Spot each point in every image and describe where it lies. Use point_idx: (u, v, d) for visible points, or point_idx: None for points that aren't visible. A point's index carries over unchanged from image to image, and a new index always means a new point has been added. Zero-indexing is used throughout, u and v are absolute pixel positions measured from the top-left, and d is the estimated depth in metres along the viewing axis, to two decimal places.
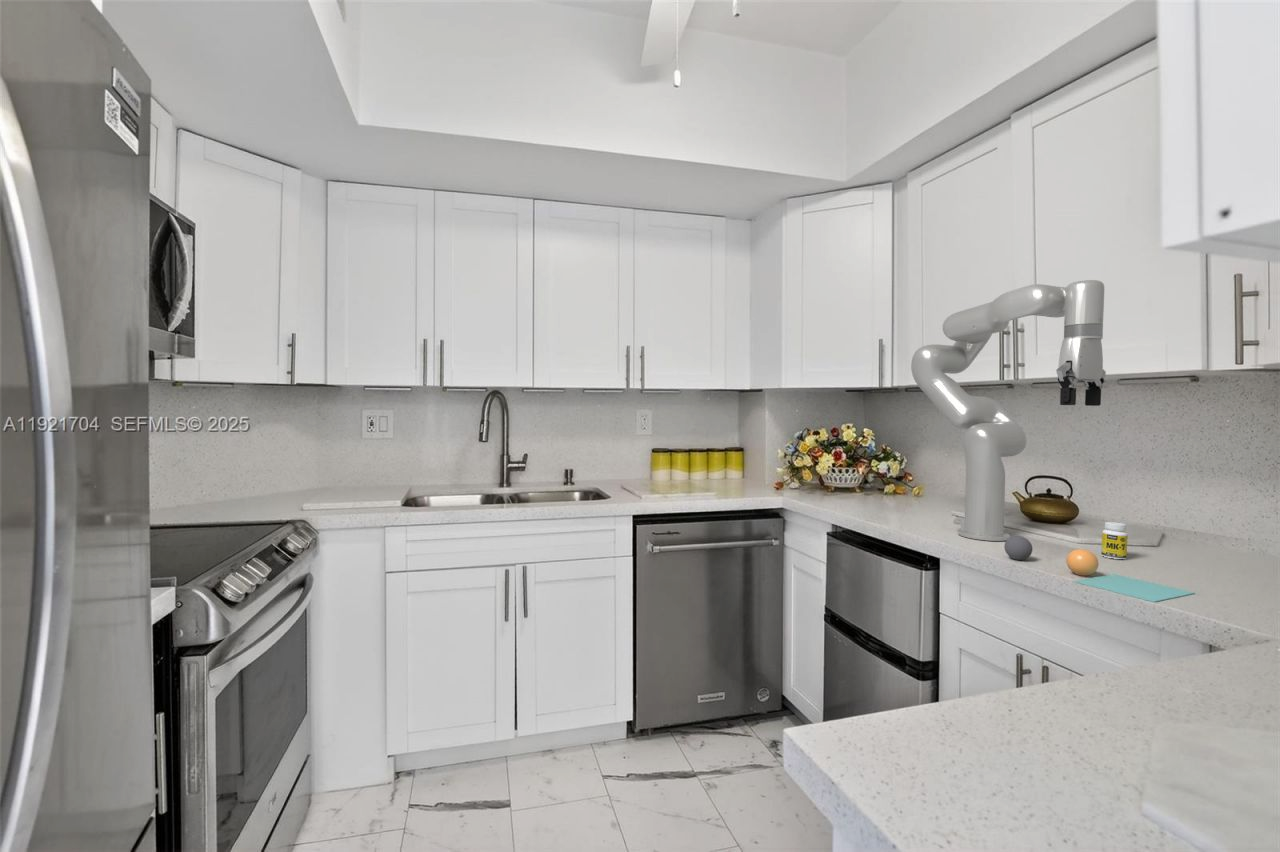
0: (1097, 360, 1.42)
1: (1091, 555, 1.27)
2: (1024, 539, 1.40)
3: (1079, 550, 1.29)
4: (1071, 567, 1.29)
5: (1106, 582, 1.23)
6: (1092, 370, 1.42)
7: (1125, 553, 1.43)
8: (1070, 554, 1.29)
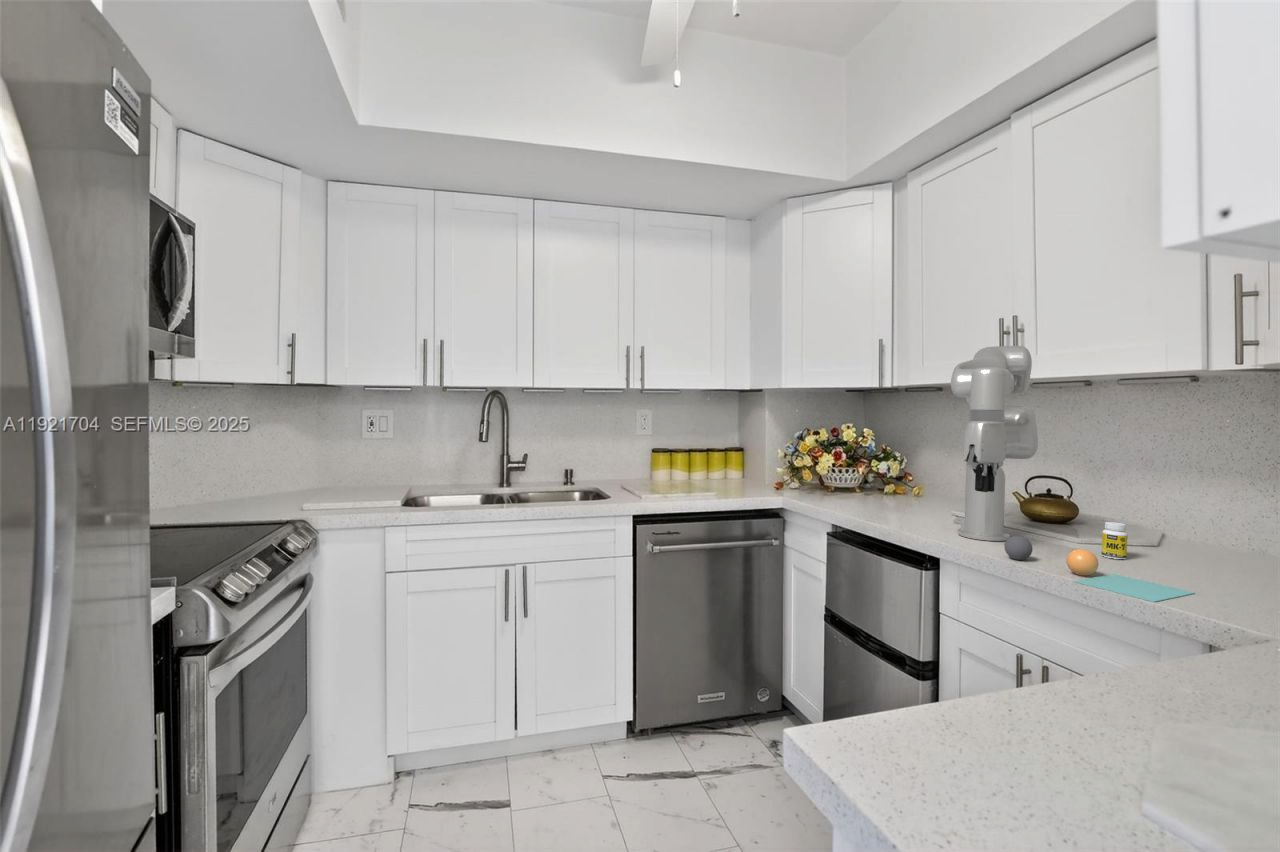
0: (999, 443, 1.48)
1: (1091, 555, 1.27)
2: (1024, 539, 1.40)
3: (1079, 550, 1.29)
4: (1071, 567, 1.29)
5: (1106, 582, 1.23)
6: (994, 453, 1.47)
7: (1125, 553, 1.43)
8: (1070, 554, 1.29)
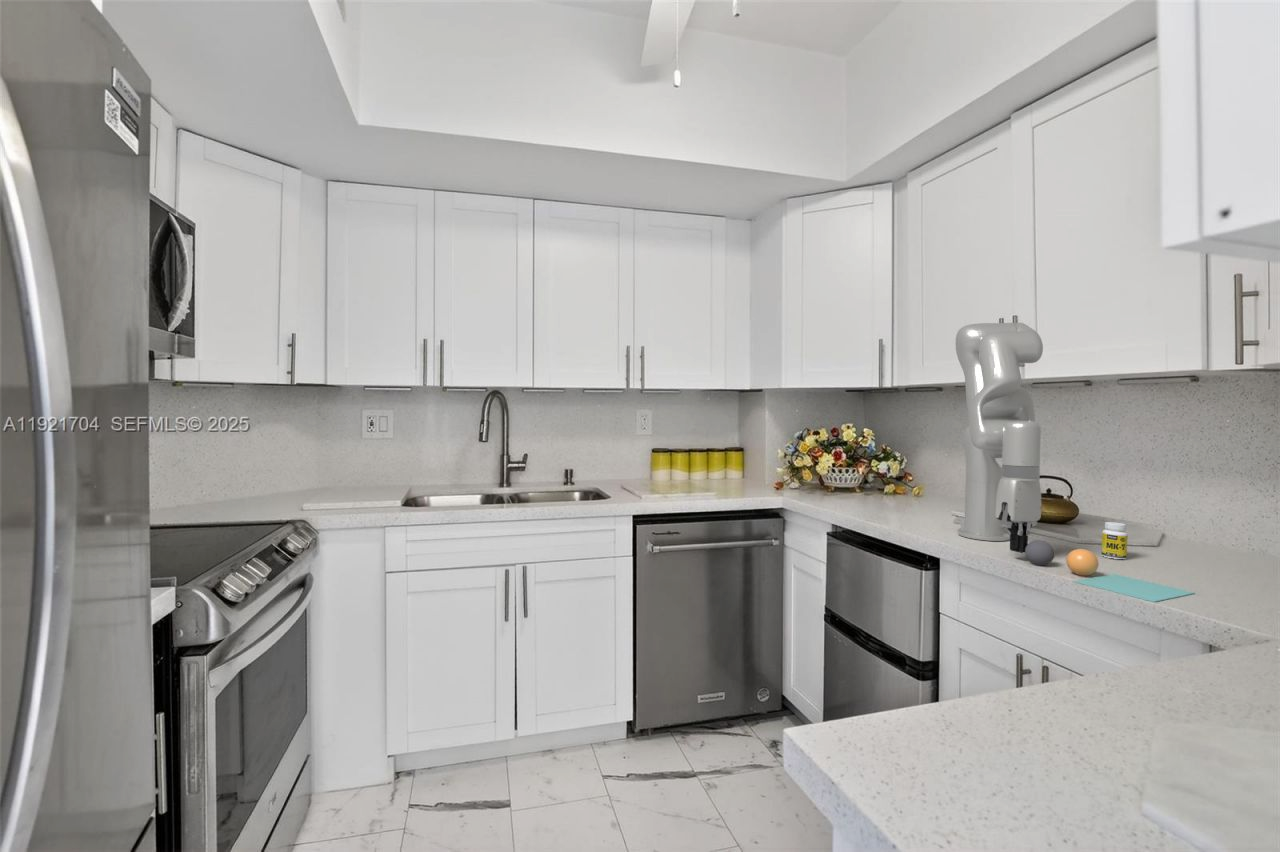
0: (1034, 502, 1.39)
1: (1091, 555, 1.27)
2: (1049, 561, 1.35)
3: (1079, 550, 1.29)
4: (1071, 567, 1.29)
5: (1106, 582, 1.23)
6: (1029, 512, 1.39)
7: (1125, 553, 1.43)
8: (1070, 554, 1.29)
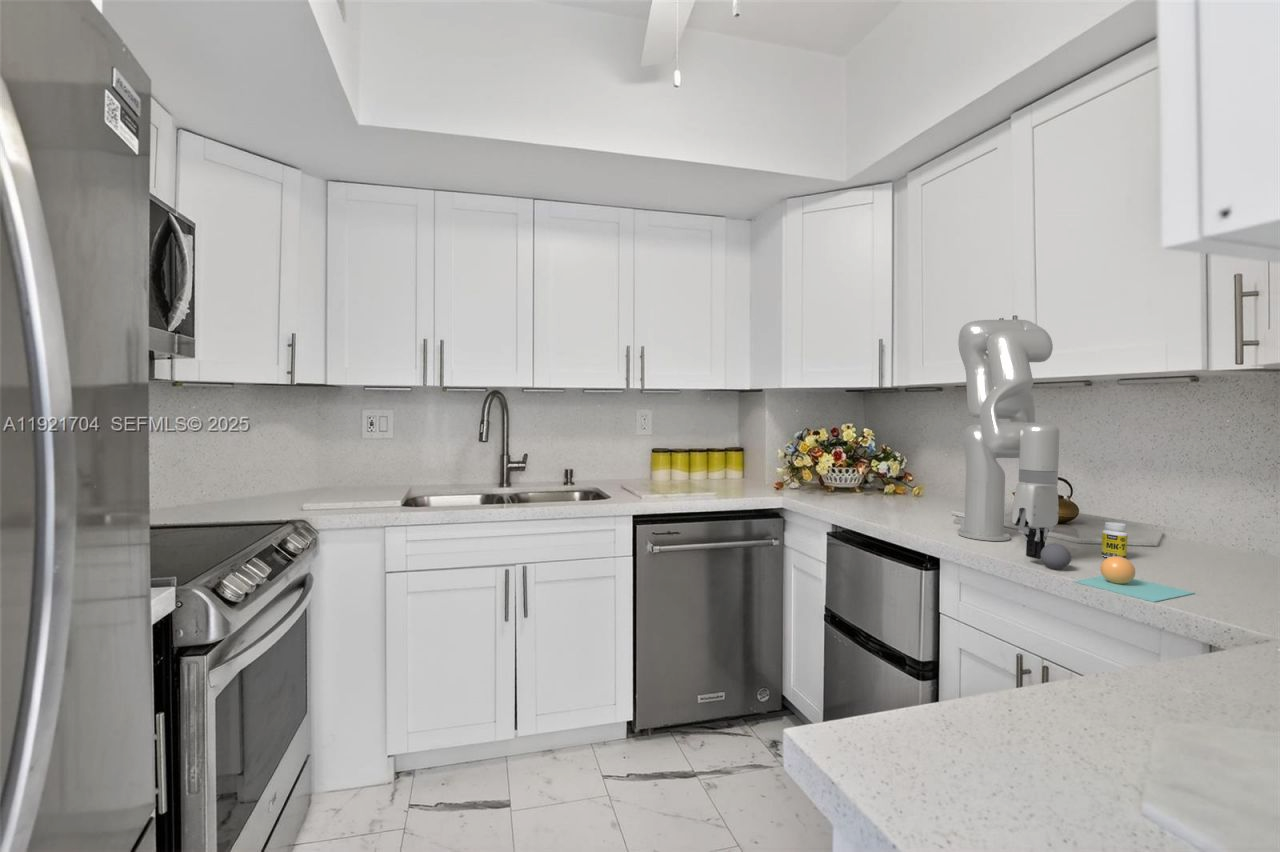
0: (1052, 507, 1.36)
1: (1115, 583, 1.23)
2: None
3: (1125, 581, 1.21)
4: (1109, 565, 1.22)
5: (1106, 582, 1.23)
6: (1047, 517, 1.36)
7: (1125, 553, 1.43)
8: (1123, 574, 1.20)
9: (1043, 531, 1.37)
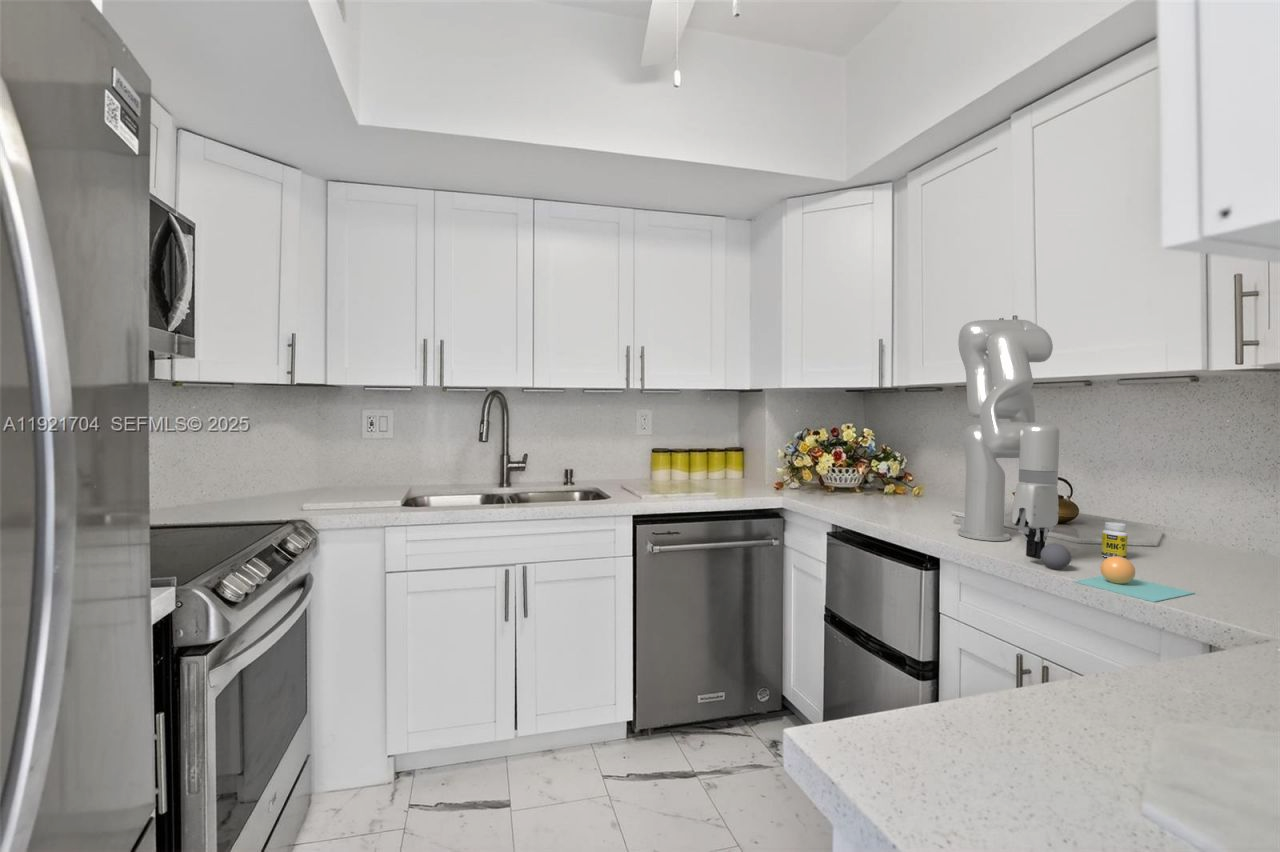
0: (1052, 507, 1.36)
1: (1115, 583, 1.23)
2: None
3: (1125, 581, 1.21)
4: (1109, 565, 1.22)
5: (1106, 582, 1.23)
6: (1047, 517, 1.36)
7: (1125, 553, 1.43)
8: (1123, 574, 1.20)
9: (1043, 531, 1.37)
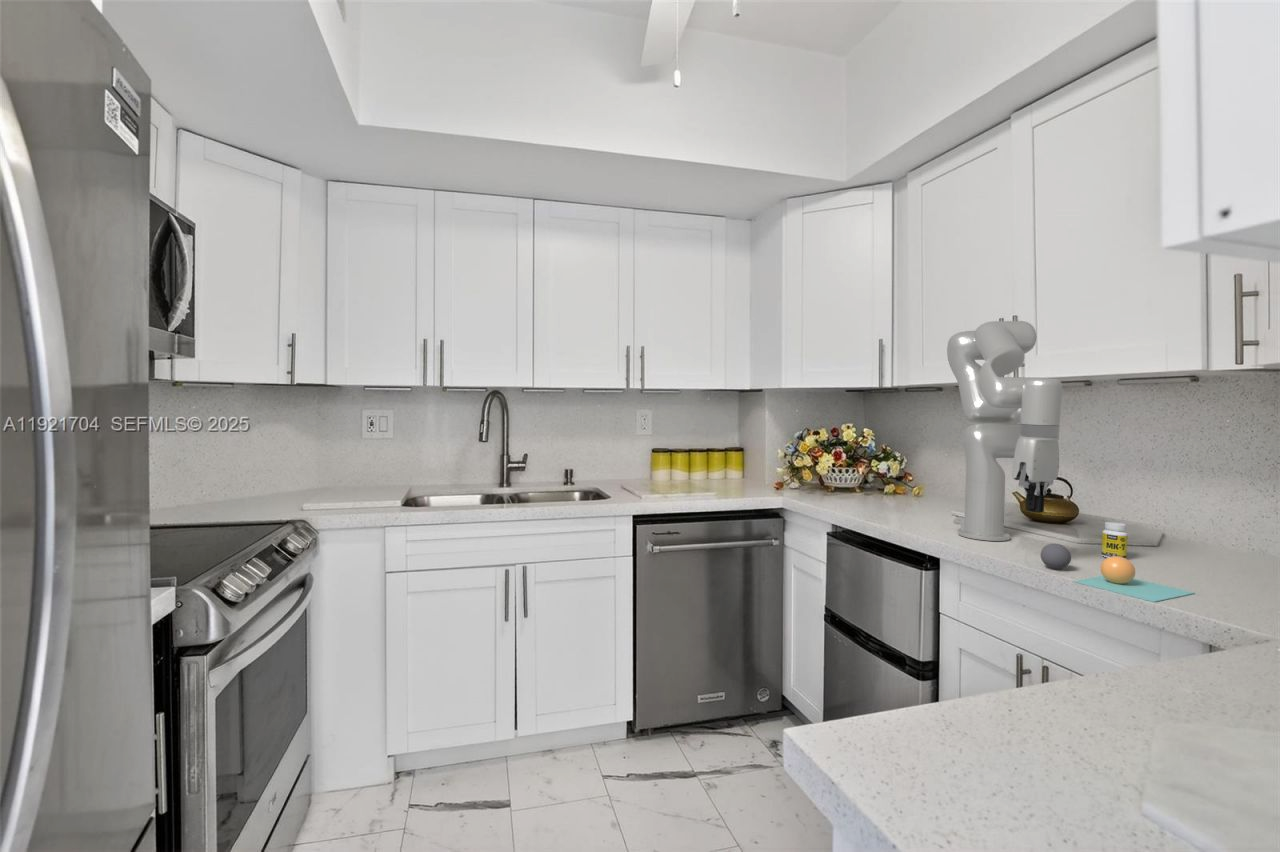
0: (1053, 461, 1.36)
1: (1115, 583, 1.23)
2: None
3: (1125, 581, 1.21)
4: (1109, 565, 1.22)
5: (1106, 582, 1.23)
6: (1047, 471, 1.36)
7: (1125, 553, 1.43)
8: (1123, 574, 1.20)
9: (1043, 485, 1.38)
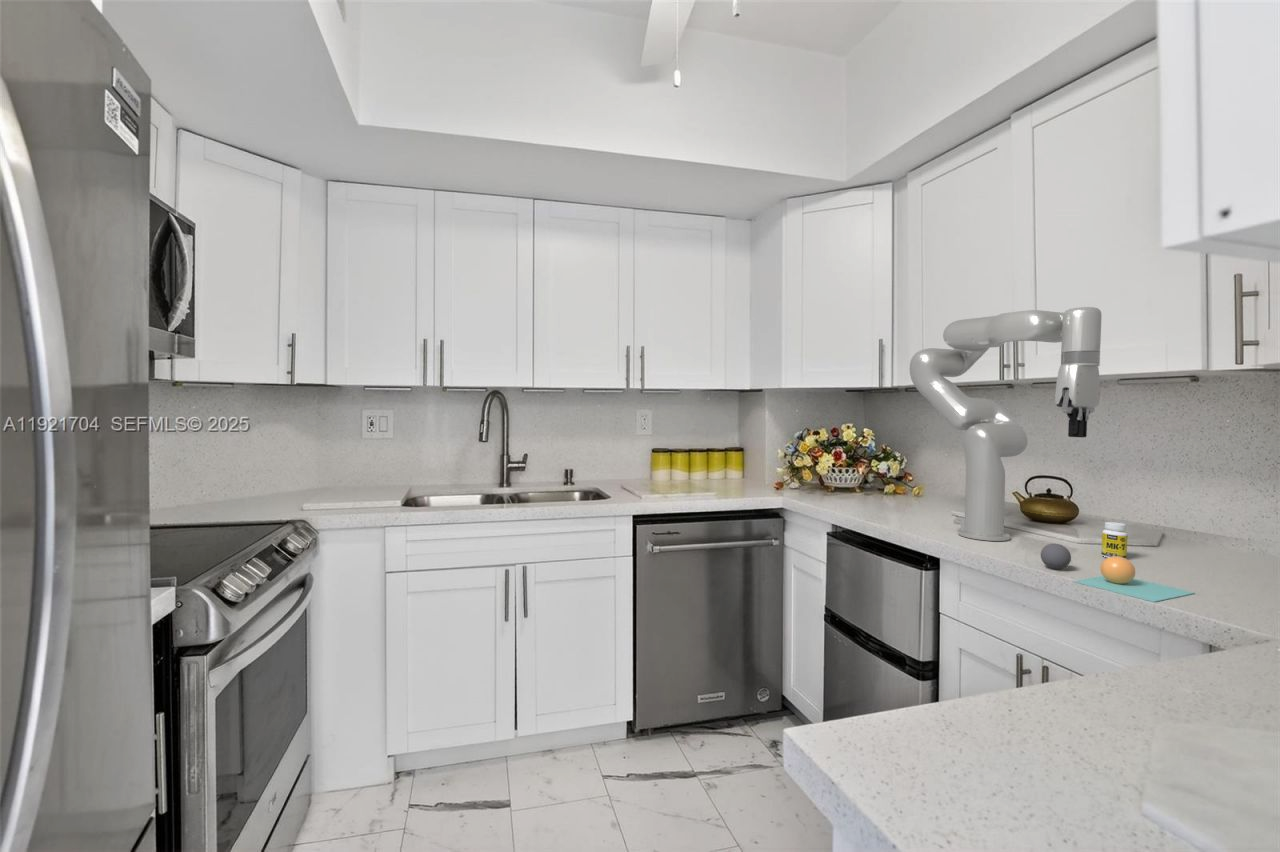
0: (1094, 387, 1.42)
1: (1115, 583, 1.23)
2: None
3: (1125, 581, 1.21)
4: (1109, 565, 1.22)
5: (1106, 582, 1.23)
6: (1089, 397, 1.41)
7: (1125, 553, 1.43)
8: (1123, 574, 1.20)
9: (1085, 411, 1.43)
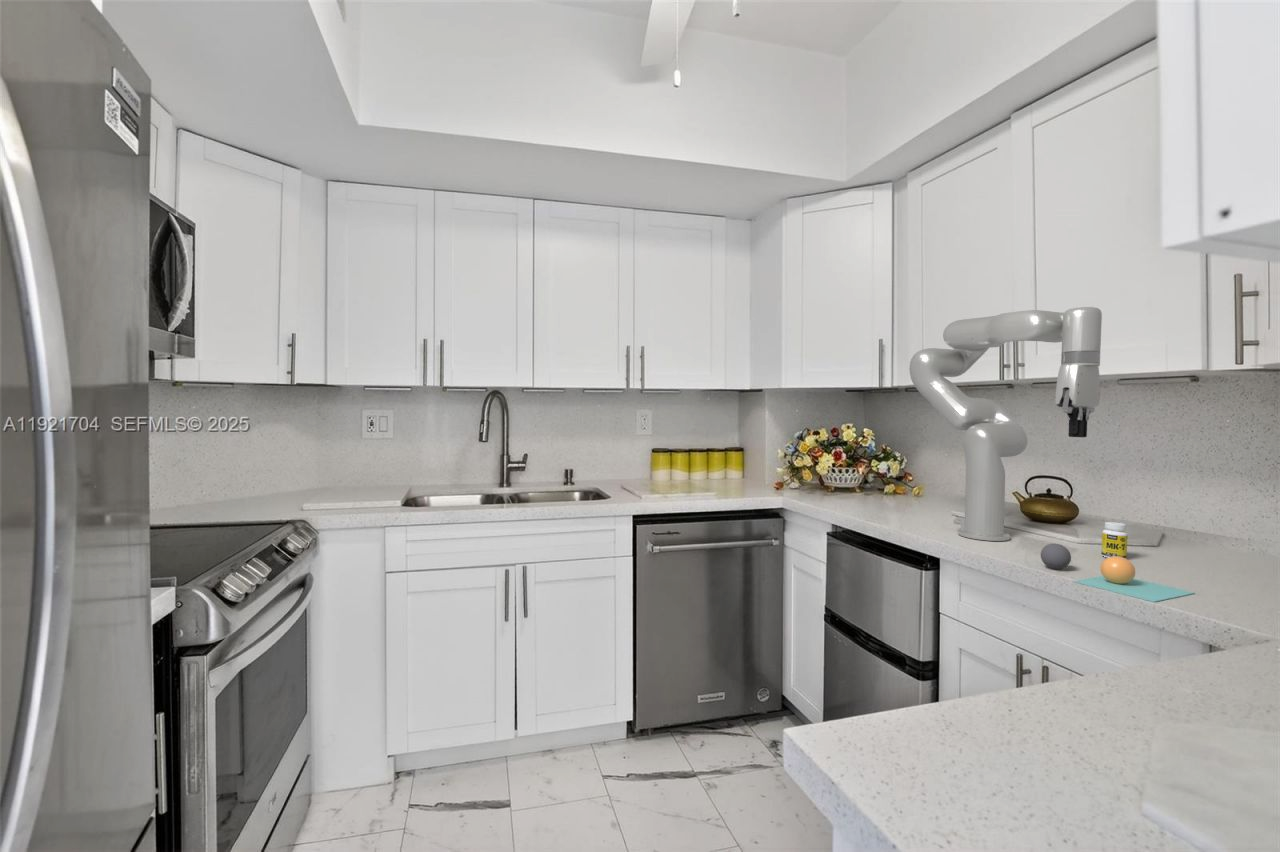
0: (1094, 387, 1.42)
1: (1115, 583, 1.23)
2: None
3: (1125, 581, 1.21)
4: (1109, 565, 1.22)
5: (1106, 582, 1.23)
6: (1089, 397, 1.41)
7: (1125, 553, 1.43)
8: (1123, 574, 1.20)
9: (1085, 411, 1.43)
